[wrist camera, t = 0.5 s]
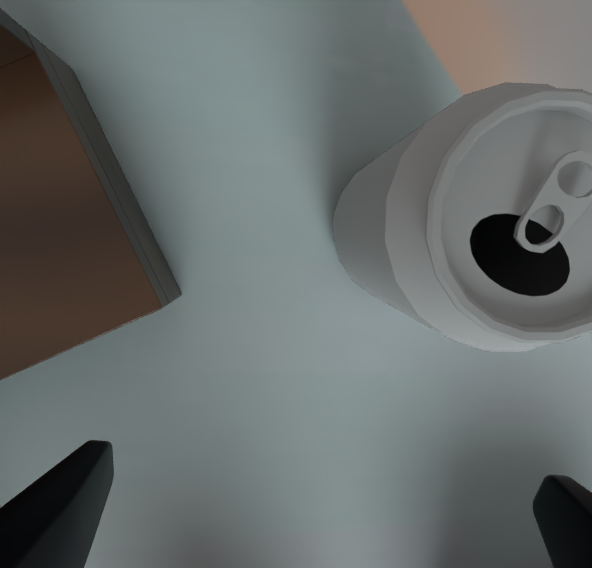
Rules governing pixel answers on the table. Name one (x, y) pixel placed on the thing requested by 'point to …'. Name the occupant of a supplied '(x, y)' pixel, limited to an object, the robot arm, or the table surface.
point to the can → (481, 219)
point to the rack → (64, 215)
